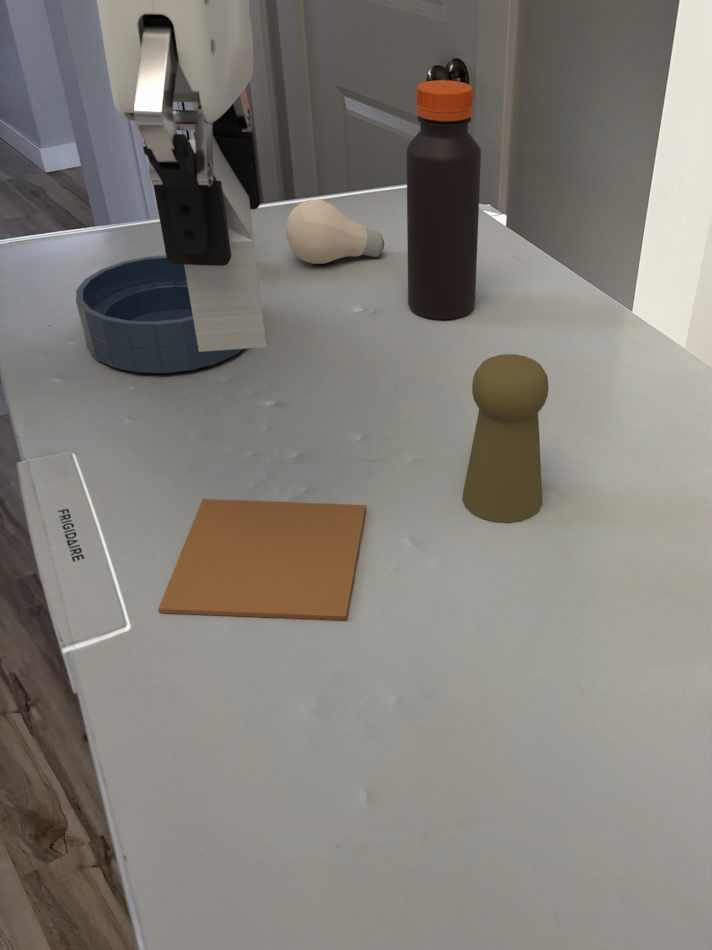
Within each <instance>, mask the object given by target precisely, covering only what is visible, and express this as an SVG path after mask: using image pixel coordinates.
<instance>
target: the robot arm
mask: <svg viewBox="0 0 712 950" xmlns="http://www.w3.org/2000/svg"><path fill="white" fill-rule="evenodd" d="M96 4H97V10H98V17H99V23H100V30H101V36H102V37H101V38H102V42H103V48H104V49H103V50H104V55H105V61H106V68H107V73H108V79H109V84H110V90H111V96H112V101H113V106H114V108H115V110H116V112H117V113H118V114H119V115H120V116H121V117H122V118H123V119H124V120H126V121H134V122H135V125H136V127H137V129H138V131H139V133H140V136H141V138H142V140H143V144H144V145H143V146H142V148H143V154H144V155H145V156H146V157H147V159H148V173H149V179H150V182H151V184H152V185H153V190H154V196H155V202H156V207H157V212H158V217H159V223H160V228H161V234H162V240H163V245H164V246H163V247H164V251H165V255H166V256H167V259H168V260H169V261H170V262H171V263H173V264H182V265H211V266H225V265H227V264H228V263H229V261H230V259H231V249H230V242H229V234H228V227H227V220H226V213H225V205H224V198H223V191H222V183H221V181H213V136H214V138H215V140H216V142H217V144H218V146H219V148H220V150H221V152H222V154H223V155H224V157H225V159H226V160H227V162H228V163H229V165H230V167H231V168H232V170H233V172H234V173H235V175H236V176H237V178H238V180H239V181H240V183H241V185H242V186H243V188H244V189H245V191H246V193H247V194H248V196H249V201H250V210H258V208H259V207H260V205H261V203H262V194H261V185H260V176H259V167H258V159H257V158H258V157H257V149H256V141H255V132H254V131H251V130H252V123H253V121H252V119H253V118H252V117H253V116H252V110H251V106H250V102H249V98H248V94H247V90H246V87H247V86H248V84H249V83H250V82H251V80H252V77H253V72H254V43H253V41H254V40H253V29H252V17H251V7H250V0H96ZM174 103H191V104H192V108H193V110H191V109H186V110H185V109H174ZM177 131H189V132H190V131H191V132H193V137H194V138H193V139H195V152H196V154H195V152H194V150H193V149H192V147H191V143H190V142H189V141H188V140H189V139H188V137H187V135H186V134H184V133H178V132H177Z"/></svg>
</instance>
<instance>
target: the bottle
mask: <svg viewBox="0 0 712 950" xmlns="http://www.w3.org/2000/svg"><path fill="white" fill-rule="evenodd" d="M473 99H474V88H473V86H472V85H471V84H468V83H467V82H462V81H458V80H448V79H447V80H445V79H441V80H439V79H437V80H435V79H434V80H428V81H424V82H421V83H419V84H418V85H417V86H416V114H417V121H418V122H419V123H420V130H419V131H418V132H417V134H416V135H415V136H414V137H413V138H412V139H411V141H410V142H409V143H408V146H407V148H406V219H407V220H406V225H407V226H406V229H407V230H406V231H407V234H406V235H407V237H406V238H407V239H406V240H407V243H406V244H407V304H408V306H409V308H410V309H411V311H413V312H414V313H415V314H416V315H418V316H421V317H423V318H427V319H432V320H443V321H444V320H453V319H458V318H463V317H464V316H467V315H468V314H470V313H471V312H472V311H473V310H474V309H475V305H476V291H477V290H476V286H477V266H478V265H477V264H478V263H477V262H478V261H477V260H478V241H479V240H478V237H479V213H480V212H479V211H480V187H481V167H482V164H481V163H482V149H481V146H480V145H479V144H478V143H477V141H476V140H475V139H474V137H473V136H472V135H471V134H470V132H469V124H470V123H471V122H472V115H473Z"/></svg>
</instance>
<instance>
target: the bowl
mask: <svg viewBox="0 0 712 950" xmlns="http://www.w3.org/2000/svg"><path fill="white" fill-rule="evenodd" d="M75 302H76V307H77V310H78V313H79V318H80V322H81V325H82V326H81V327H82V329H83V333H84V338H85V341H86V346H87V348H88V350H89V351H90V353H91V354H92V355H93V356H94V357H95V359H96V360H98V361H100V362H101V363H104V364H106V365H107V366H110V367H112V368H114V369H119V370H123V371H128V372H133V373H147V374H148V373H149V374H170V373H178V372H188V371H195V370H198V369H202V368H206V367H209V366H213V365H216V364H219V363H222V362H223V361H225V360H228V359H230V358H232V357H234V356H236V355H238V354H239V353H240V352H242V350H243V349H232V350H217V351H203V352H199V349H198V343H197V337H196V331H195V326H194V320H193V314H192V308H191V302H190V296H189V290H188V284H187V278H186V272H185V267H184V265H182V264H173V263H171V262H170V261H169V260H168V259H167V256H166V254H164V255H153V256H144V257H138V258H134V259H128V260H123V261H120V262H117V263H115V264H113V265H110V266H107V267H104V268H101V269H99V270H98V271H95V273H92V274H91V275H90V276H88V277H86V278H85V279H84V280H83V281H82V282H81V284H80V285H79V286H78V287H77V289H76V290H75Z"/></svg>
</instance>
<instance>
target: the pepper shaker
mask: <svg viewBox="0 0 712 950" xmlns="http://www.w3.org/2000/svg"><path fill="white" fill-rule="evenodd" d="M471 386H472V388H471V393H472V397H473V401H474V403H475V405H476V406H477V408H478V413H477V418H476V423H475V429H474V434H473V438H472V439H473V440H472V444H471V449H470V454H469V460H468V464H467V470H466V475H465V480H464V486H463V491H462V497H461V498H462V499H461V500H462V502H463V505H464V507H465V509H467V510H468V511H469V512H470V513H471V514H472V515H474V516H476V517H478V518H480V519H481V520H486V521H489V522H490V521H491V522H494V523H505V524H506V523H508V524H509V523H515V522H523V521H524V520H527V519H529V518H532V517H533V516H535V515H536V514H537V513H538V512H540V510H541V508H542V506H543V505H544V503H543V501H544V500H543V481H542V460H541V446H540V445H541V443H540V442H541V441H540V423H539V412H540V411H541V410H542V409H543V407H544V405H545V404H546V402H547V399H548V396H549V395H548V394H549V379H548V374H547V372H546V371H545V369H544V367H543V365H541V364H540V363H539V362H538V361H536V360H535V359H532V358H530V357H528V356H525V355H520V354H515V353H505V354H504V353H503V354H497V355H495V356H491V357H488V358H487V359H485V360H483V361H482V362H481V363H480V365H479V366H478V367H477V369H476V370H475V371H474V374H473V377H472V385H471Z"/></svg>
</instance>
